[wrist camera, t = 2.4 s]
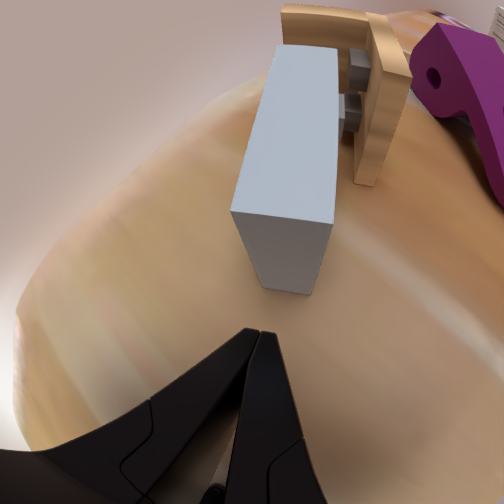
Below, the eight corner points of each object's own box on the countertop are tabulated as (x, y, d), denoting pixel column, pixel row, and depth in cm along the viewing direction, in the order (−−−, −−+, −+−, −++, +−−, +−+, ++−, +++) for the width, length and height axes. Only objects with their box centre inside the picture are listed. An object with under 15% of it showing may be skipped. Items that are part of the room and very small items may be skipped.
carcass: (373, 186, 19) (412, 77, 10) (276, 173, 20) (263, 57, 11) (368, 109, 22) (385, 16, 12) (290, 99, 23) (283, 3, 14)
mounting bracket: (503, 207, 23) (456, 66, 21) (553, 205, 14) (494, 37, 13) (454, 224, 23) (400, 62, 22) (512, 225, 15) (437, 22, 13)
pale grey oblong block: (318, 296, 17) (350, 226, 8) (243, 284, 18) (192, 207, 9) (332, 164, 20) (346, 50, 11) (270, 156, 21) (254, 44, 12)
